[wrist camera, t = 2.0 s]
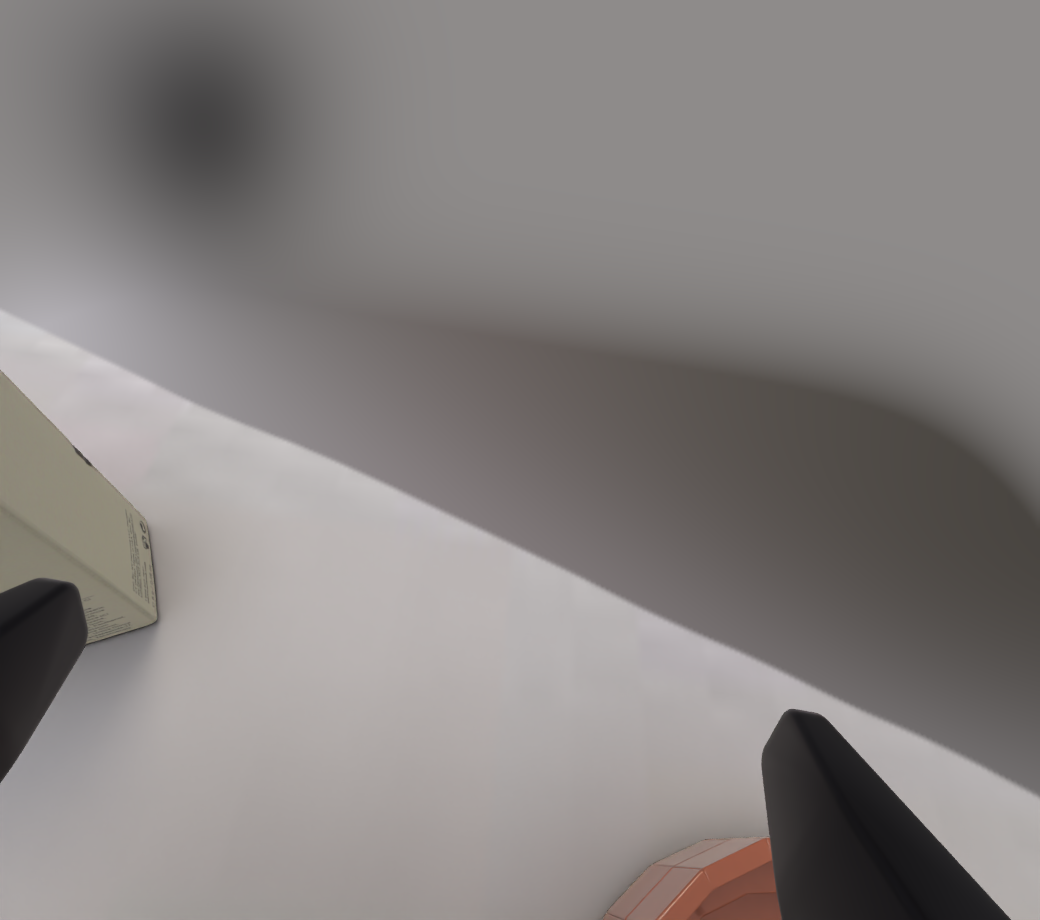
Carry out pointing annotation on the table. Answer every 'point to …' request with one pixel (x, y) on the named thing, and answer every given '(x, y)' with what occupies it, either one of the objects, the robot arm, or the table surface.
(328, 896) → the table surface
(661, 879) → the bowl
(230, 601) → the table surface
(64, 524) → the box
